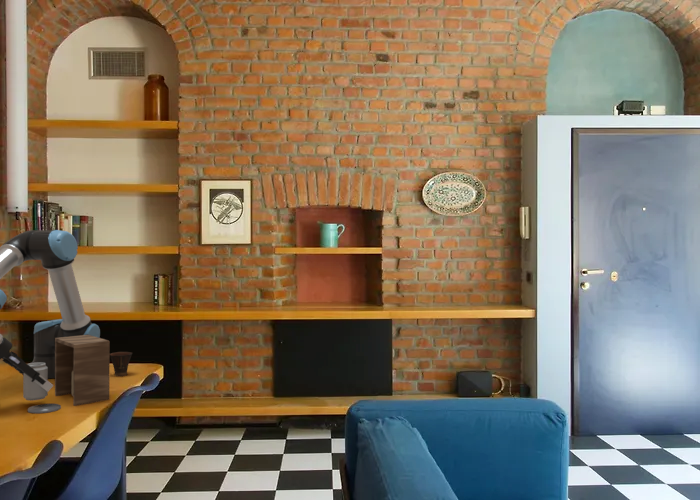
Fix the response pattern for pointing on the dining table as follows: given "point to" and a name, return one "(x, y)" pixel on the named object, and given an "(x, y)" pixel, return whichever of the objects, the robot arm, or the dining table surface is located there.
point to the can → (32, 388)
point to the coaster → (44, 408)
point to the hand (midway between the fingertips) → (46, 386)
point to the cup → (120, 362)
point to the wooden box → (82, 368)
